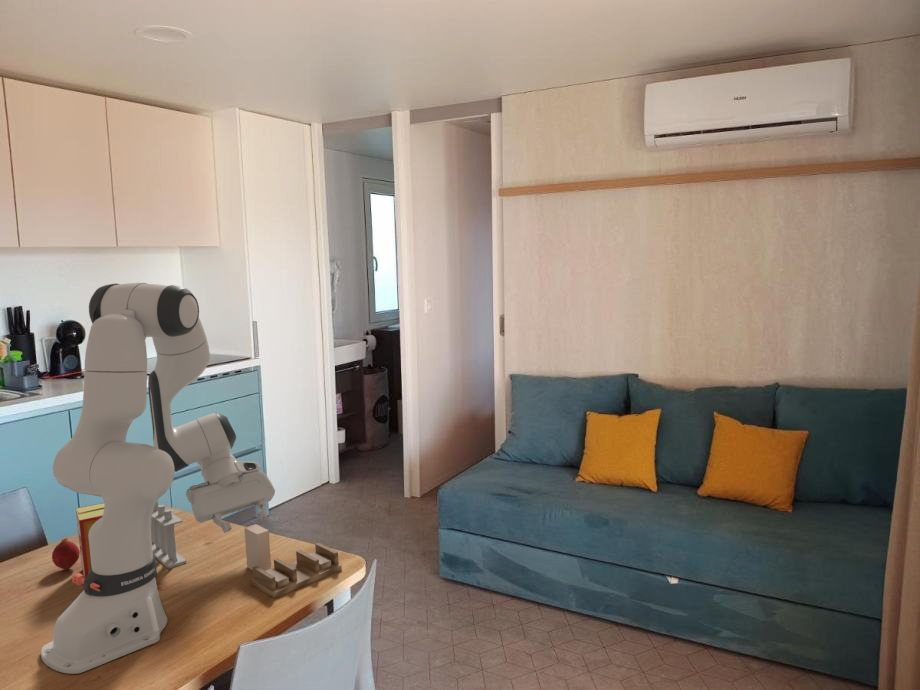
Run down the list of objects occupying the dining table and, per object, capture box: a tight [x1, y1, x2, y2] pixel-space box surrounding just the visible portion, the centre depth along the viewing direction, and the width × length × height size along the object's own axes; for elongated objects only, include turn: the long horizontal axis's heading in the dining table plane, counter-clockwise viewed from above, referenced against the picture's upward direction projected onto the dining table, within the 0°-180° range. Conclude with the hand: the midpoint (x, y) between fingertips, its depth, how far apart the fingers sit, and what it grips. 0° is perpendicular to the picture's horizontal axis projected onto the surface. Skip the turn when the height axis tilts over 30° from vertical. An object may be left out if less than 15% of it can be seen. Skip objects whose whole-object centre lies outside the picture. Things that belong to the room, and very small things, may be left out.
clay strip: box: [243, 523, 272, 571], centre depth 165 cm, size 3×6×10 cm, turn 46°
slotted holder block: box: [250, 542, 343, 599], centre depth 161 cm, size 18×10×4 cm, turn 136°
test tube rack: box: [151, 500, 187, 569], centre depth 176 cm, size 25×4×13 cm, turn 43°
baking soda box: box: [75, 502, 104, 577], centre depth 164 cm, size 10×6×16 cm
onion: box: [51, 536, 81, 570], centre depth 167 cm, size 6×6×8 cm
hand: (246, 524), depth 168 cm, fingers open, 8 cm apart
